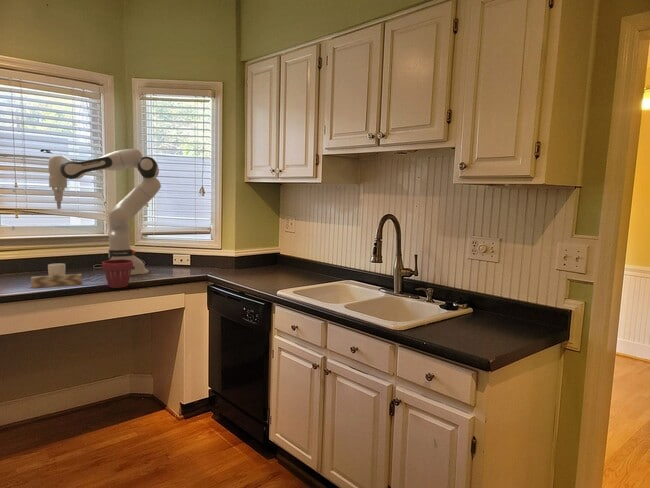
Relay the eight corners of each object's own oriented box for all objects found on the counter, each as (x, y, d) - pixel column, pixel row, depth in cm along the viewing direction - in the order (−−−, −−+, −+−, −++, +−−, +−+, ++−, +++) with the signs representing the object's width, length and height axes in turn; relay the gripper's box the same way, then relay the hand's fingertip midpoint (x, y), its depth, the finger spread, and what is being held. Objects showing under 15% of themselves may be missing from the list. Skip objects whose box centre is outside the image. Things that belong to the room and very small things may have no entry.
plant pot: (102, 289, 228) (101, 263, 227) (103, 284, 241) (102, 259, 239) (133, 287, 234) (133, 262, 232) (132, 282, 246) (132, 258, 245)
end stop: (81, 282, 243) (81, 273, 243) (82, 284, 239) (81, 274, 239) (32, 285, 232) (31, 276, 232) (31, 287, 228) (31, 277, 228)
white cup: (48, 285, 234) (47, 266, 233) (48, 282, 241) (48, 263, 240) (66, 284, 238) (65, 265, 237) (66, 281, 245) (65, 263, 244)
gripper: (64, 184, 255) (65, 209, 257) (64, 184, 273) (65, 208, 274) (51, 184, 252) (52, 209, 253) (51, 184, 270) (52, 208, 271)
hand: (59, 208), depth 264 cm, fingers closed
